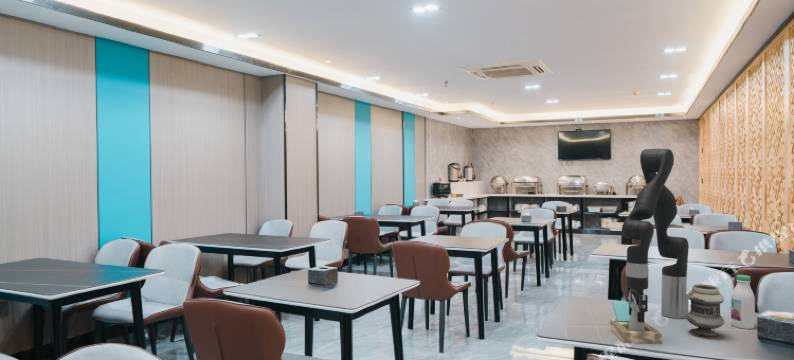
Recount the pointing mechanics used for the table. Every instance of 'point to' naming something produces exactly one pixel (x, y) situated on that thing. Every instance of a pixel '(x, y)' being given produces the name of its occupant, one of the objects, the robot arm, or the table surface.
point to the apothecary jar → (705, 310)
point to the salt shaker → (635, 320)
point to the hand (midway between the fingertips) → (636, 318)
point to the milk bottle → (743, 304)
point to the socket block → (636, 333)
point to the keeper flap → (621, 311)
